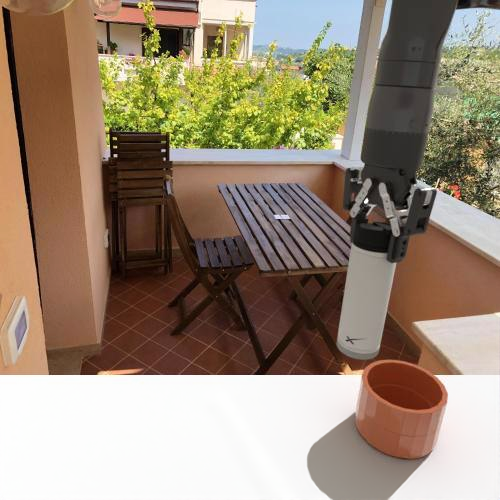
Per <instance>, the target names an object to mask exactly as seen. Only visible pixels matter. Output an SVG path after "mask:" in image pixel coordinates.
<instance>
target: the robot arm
mask: <svg viewBox="0 0 500 500" xmlns="http://www.w3.org/2000/svg"><path fill="white" fill-rule="evenodd" d="M468 9H469V10H470V9H486V10H487V9H488V10H496V11H500V0H391V6H390V12H389V17H388V25H387V30H386V32H385V34H384V37H383V38H382V40H381V43H380V46H379V49H378V50H379V51H378V53H377V54H378V55H377V59H376V60H377V61H376V66H375V74H374V81H373V86H372V91H371V95H370V98H369V101H368V105H367V112H366V119H365V124H364V131H363V139H362V145H361V151H360V161H361V162H362V163H363V164H364V165H363V167H362V166H360V167H359V166H355V167H354V166H352V167H347V168H346V169H345V172H344V173H345V175H344V186H343V195H342V196H343V198H342V209H343V210H344V211H348V212H349V215H350V217H351V223H350V230H349V238H350V239H349V243H351V244H352V241H353V237H354V228H355V224H356V223H359V222H362V223H369V221H370V220H369V218H368V216H369V214H370V213H371V212H372V210H373V209H374V207H376V206H378V207H379V208H380V209H383V210H384V213H385V217H386V219H387V220H388V221H389V223H391V228H392V233H393V235H391V237H390V243H389V248H388V253H387V258H386V260H387V261H388V262H390V263H396V264H397V263H400V262H402V261H403V260H404V259H405V258H406V256H407V251H408V246H409V242H410V238H411V237H413V236H420V235H424V234H426V232H427V228H428V225H429V221H430V218H431V215H432V211H433V208H434V204H435V201H436V197H437V195H438V191H437V188H436V187H434V186H429V187H425V186H422V185H420V184H418V180H417V173H418V171H419V169H420V168H421V167H422V166H423V162H424V157H425V153H426V147H427V143H428V137H429V132H430V127H431V123H432V118H433V113H434V104H435V92H436V87H437V81H438V77H439V72H440V67H441V62H442V56H443V55H442V54H443V48H444V44H445V41H446V39H447V35H448V32H449V30H450V28H451V25H452V21H453V19H454V16H455V13H456V11H457V10H468ZM352 196H353V200H352ZM398 208H400V209H401V210H397V209H398Z"/></svg>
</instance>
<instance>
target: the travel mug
mask: <svg viewBox="0 0 500 500" xmlns="http://www.w3.org/2000/svg"><path fill="white" fill-rule="evenodd" d="M391 235H393V233H392V228H391V223H390V222H382V221H373V222H368V223H362V222H359V223H356V224H355V228H354V237H353V241H352V243H351V246H350V252H349V258H348V265H347V270H346V271H347V272H346V278H345V284H344V291H343V297H342V304H341V311H340V318H339V324H338V332H337V338H336V347H337V349H338V350H339V351H340V352H341V353H342V354H343V355H345V356H347V357H349V358H352V359H355V360H361V361H363V360H365V361H366V360H370V359H374V358H375V357H377V356H378V354H379V353H380V349H381V343H382V337H383V332H384V329H385V328H384V327H385V322H386V317H387V312H388V308H389V303H390V298H391V292H392V287H393V283H394V276H395V273H396V266H397V263H390V262H388V261H387V260H386V258H387V253H388V248H389V243H390V237H391Z"/></svg>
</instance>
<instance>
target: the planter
mask: <svg viewBox="0 0 500 500" xmlns="http://www.w3.org/2000/svg"><path fill="white" fill-rule="evenodd" d="M360 379H361V380H360V384H359V390H358V396H357V403H356V407H355V414H354V420H355V427H356V429H357V430H358V432H359V434H360V436H361V437H362V438H363V439H364V440H365V441H366V442H367V443H368V444H369V445H370V446H372V447H374V448H375V449H376V450H378V451H379V452H381V453H384V454H386V455H389V456H392V457H395V458H402V459H408V460H409V459H410V460H411V459H419V458H422V457H424V456H427V455H429V454H431V453H432V451H433V450H434V449H435V447H436V446H437V442H438V438H439V435H440V432H441V427H442V424H443V420H444V417H445V412H446V408H447V405H448V399H449V393H448V391H447V389H446V386H445V385H444V383H443V381H441V380H440V379H439V378H438V377H437V376H436V375H435V374H433V373H432V372H430V371H429V370H427V369H426V368H424V367H421V366H420V365H417V364H415V363H413V362H408V361H405V360H398V359H379V360H376V361H373V362H370V363H369V364H368V365H367V366H366V367H364V369H363V371H362V374H361V378H360Z"/></svg>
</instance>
